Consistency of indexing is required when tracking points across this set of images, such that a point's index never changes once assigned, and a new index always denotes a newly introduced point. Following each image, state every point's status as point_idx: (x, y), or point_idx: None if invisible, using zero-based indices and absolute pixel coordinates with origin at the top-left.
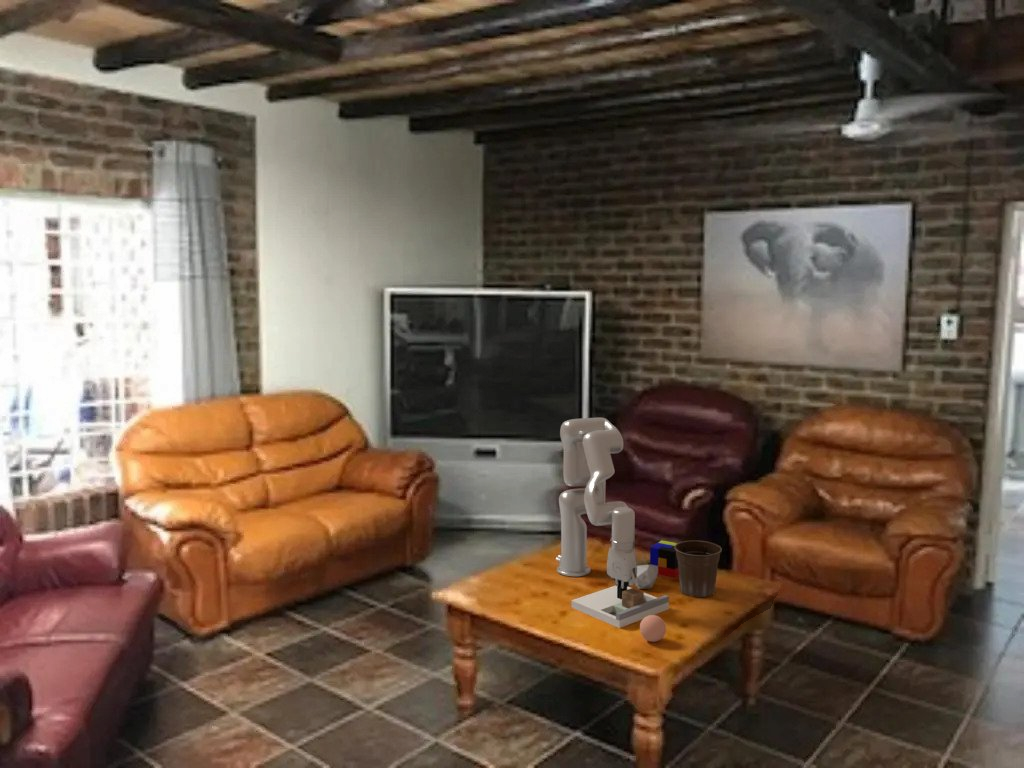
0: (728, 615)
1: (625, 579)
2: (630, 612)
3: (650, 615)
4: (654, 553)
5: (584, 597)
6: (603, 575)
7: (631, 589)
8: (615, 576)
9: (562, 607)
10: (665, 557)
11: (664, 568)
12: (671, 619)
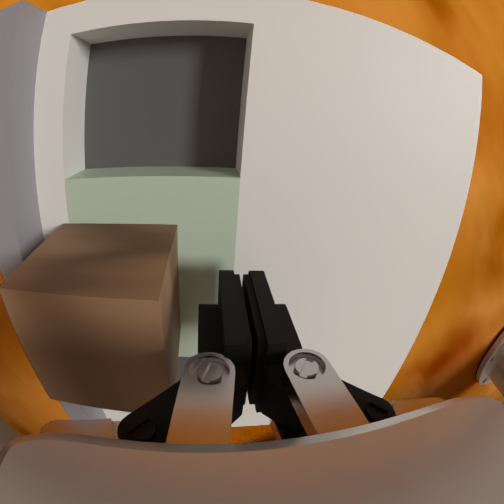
0: (11, 422)
1: (27, 467)
2: None
3: None
4: None
5: (463, 159)
6: (444, 392)
7: (149, 394)
8: (342, 467)
9: (472, 56)
10: None
11: None
12: (7, 326)
